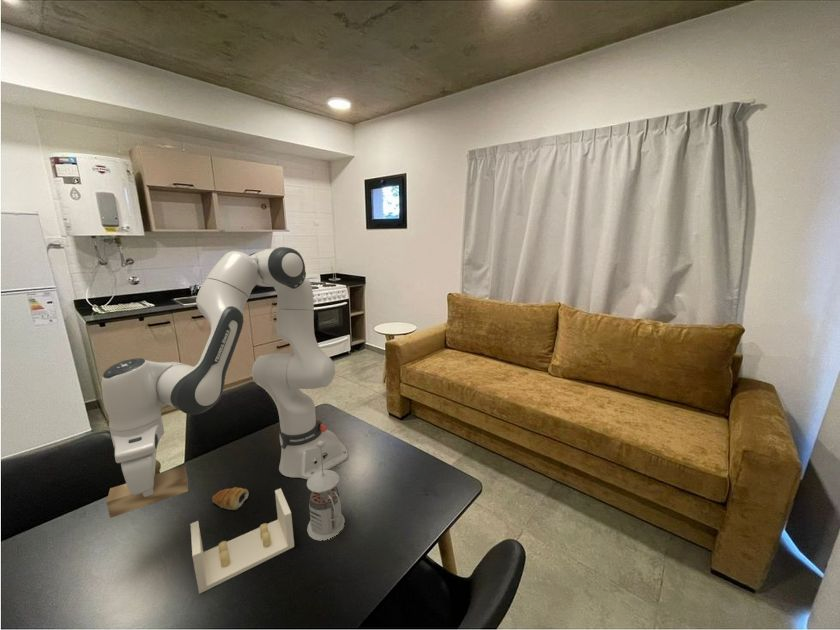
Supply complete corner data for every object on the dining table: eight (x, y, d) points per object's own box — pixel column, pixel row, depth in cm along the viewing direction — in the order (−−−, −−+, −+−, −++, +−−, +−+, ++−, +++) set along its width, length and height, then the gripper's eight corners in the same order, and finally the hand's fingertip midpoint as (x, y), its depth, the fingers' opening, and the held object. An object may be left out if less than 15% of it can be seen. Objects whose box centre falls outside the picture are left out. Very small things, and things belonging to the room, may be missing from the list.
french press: (333, 504, 98) (328, 426, 92) (356, 529, 90) (352, 444, 84) (300, 524, 91) (293, 441, 85) (322, 552, 83) (315, 462, 77)
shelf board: (187, 479, 85) (185, 465, 84) (188, 491, 81) (185, 476, 80) (113, 503, 77) (110, 488, 76) (110, 518, 73) (106, 502, 72)
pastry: (206, 508, 96) (204, 497, 95) (223, 491, 103) (221, 480, 102) (237, 512, 95) (235, 500, 94) (251, 494, 102) (250, 483, 101)
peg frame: (283, 519, 92) (280, 488, 90) (294, 546, 84) (291, 512, 82) (196, 558, 81) (190, 523, 79) (199, 593, 73) (192, 556, 71)
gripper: (125, 416, 82) (136, 466, 85) (113, 461, 66) (127, 521, 69) (158, 408, 85) (167, 456, 89) (154, 449, 69) (165, 507, 72)
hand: (149, 485), depth 79 cm, fingers closed on shelf board, 5 cm apart
